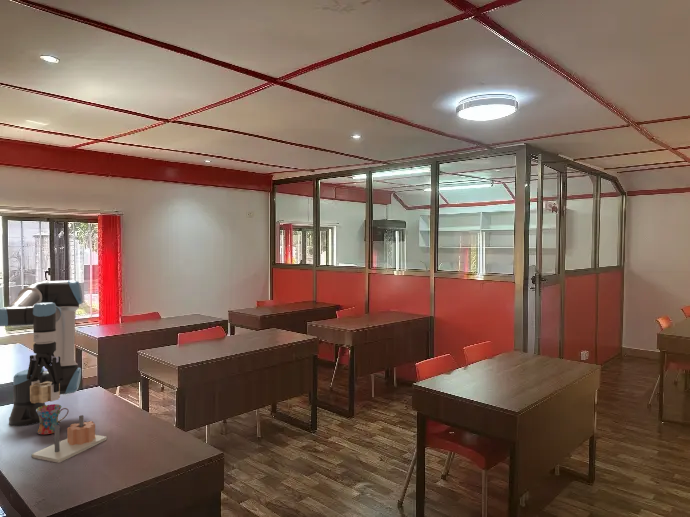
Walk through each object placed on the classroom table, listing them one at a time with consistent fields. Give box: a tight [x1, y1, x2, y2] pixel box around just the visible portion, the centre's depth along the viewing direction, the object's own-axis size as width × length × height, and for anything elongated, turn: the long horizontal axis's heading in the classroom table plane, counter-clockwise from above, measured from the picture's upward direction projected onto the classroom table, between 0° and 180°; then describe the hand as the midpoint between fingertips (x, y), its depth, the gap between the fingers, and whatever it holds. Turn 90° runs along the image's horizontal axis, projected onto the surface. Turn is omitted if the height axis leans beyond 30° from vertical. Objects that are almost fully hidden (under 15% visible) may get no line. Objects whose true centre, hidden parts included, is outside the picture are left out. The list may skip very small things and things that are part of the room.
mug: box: [36, 403, 69, 436], centre depth 201 cm, size 12×9×11 cm
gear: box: [30, 381, 61, 404], centre depth 181 cm, size 10×10×6 cm
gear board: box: [31, 414, 108, 464], centre depth 184 cm, size 14×22×11 cm, turn 162°
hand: (45, 398), depth 181 cm, fingers closed on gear, 10 cm apart
